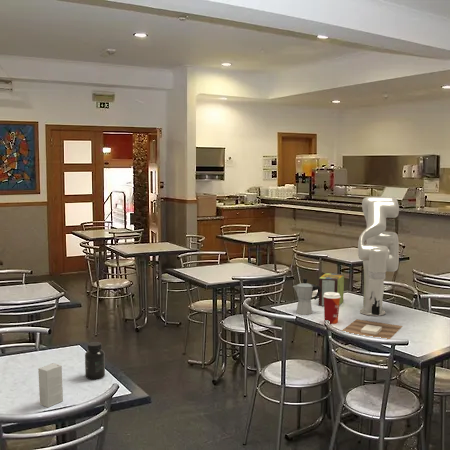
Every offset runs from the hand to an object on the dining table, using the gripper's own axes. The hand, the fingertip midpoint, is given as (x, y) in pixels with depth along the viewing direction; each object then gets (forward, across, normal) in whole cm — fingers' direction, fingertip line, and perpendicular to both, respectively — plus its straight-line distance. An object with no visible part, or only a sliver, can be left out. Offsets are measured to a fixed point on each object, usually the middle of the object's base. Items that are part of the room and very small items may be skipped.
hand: (375, 314), depth 259 cm
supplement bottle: (+7, +109, -69) cm, 130 cm away
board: (+8, +2, -1) cm, 8 cm away
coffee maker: (+8, -12, -39) cm, 42 cm away
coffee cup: (+8, +1, -21) cm, 22 cm away
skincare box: (+6, +133, -65) cm, 148 cm away
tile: (+6, +2, 0) cm, 6 cm away
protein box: (+9, -37, -35) cm, 52 cm away
